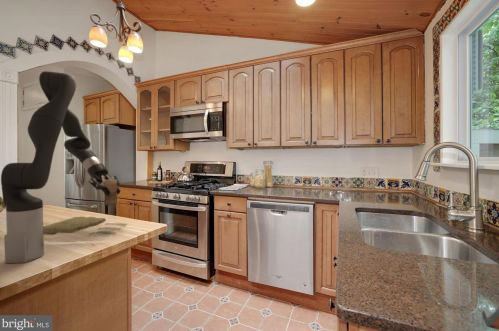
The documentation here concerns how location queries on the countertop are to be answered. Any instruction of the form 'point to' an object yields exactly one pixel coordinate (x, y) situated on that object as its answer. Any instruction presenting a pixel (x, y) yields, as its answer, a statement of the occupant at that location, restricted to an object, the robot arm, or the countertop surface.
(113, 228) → the birch board
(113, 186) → the walnut roller
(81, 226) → the decorative tile
